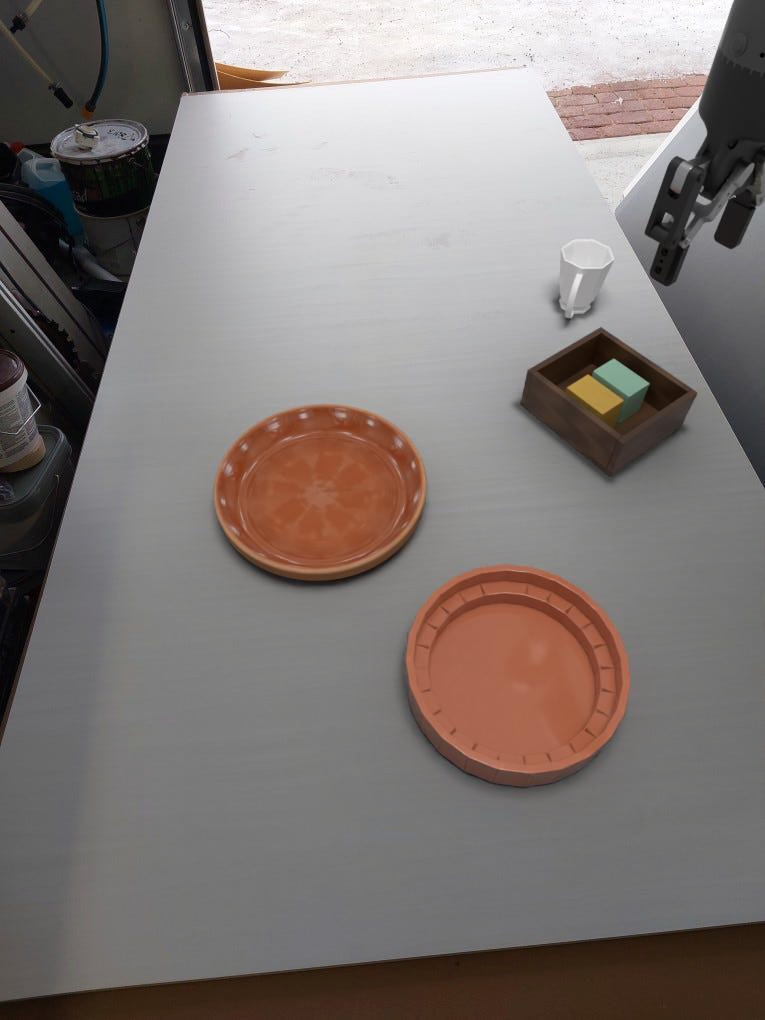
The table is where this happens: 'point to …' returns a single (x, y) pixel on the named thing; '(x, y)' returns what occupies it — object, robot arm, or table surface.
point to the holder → (586, 430)
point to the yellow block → (596, 399)
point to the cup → (582, 274)
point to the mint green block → (622, 386)
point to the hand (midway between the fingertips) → (694, 261)
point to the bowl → (516, 674)
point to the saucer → (320, 492)
